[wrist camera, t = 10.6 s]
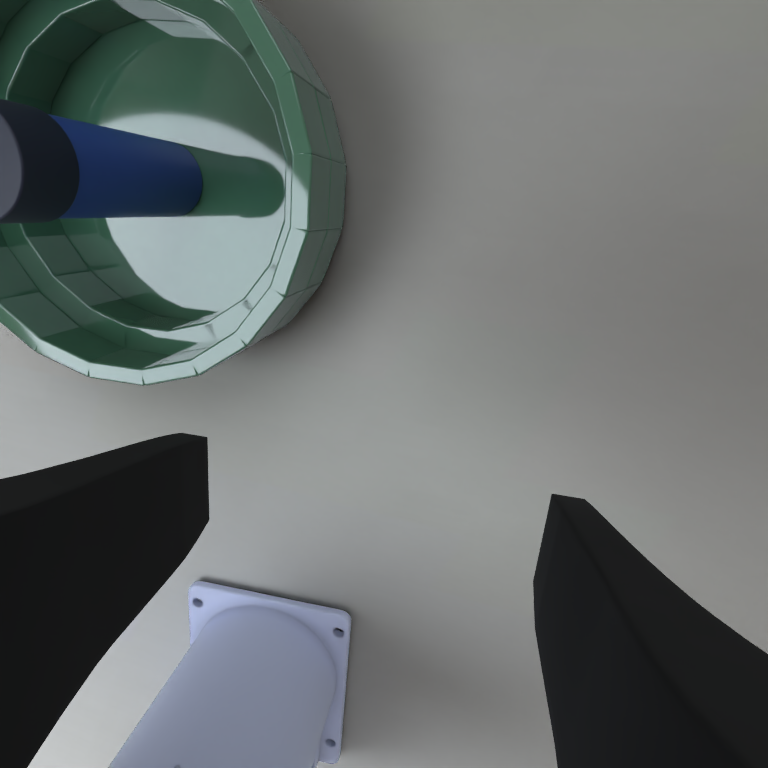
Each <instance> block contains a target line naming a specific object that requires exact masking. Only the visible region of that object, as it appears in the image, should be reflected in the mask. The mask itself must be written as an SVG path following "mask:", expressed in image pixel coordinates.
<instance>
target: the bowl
mask: <svg viewBox="0 0 768 768" xmlns="http://www.w3.org/2000/svg"><path fill="white" fill-rule="evenodd" d="M0 99H4V100H8V101H12V102H17V103H21V104H25V105H29V106H32V107H36V108H38V109H40V110H42V111H43V112H45V113H47V114H50V115H54V116H59V117H63V118H68V119H72V120H77V121H81V122H86V123H90V124H95V125H99V126H104V127H108V128H113V129H117V130H122V131H126V132H130V133H135V134H139V135H144V136H148V137H153V138H157V139H162V140H166V141H171V142H174V143H177V144H179V145H181V146H183V147H184V148H186V149H187V150H188V151H189V152H190V153H191V154H192V156H193V157H194V158H195V160H196V162H197V163H198V166H199V168H200V171H201V175H202V192H201V196H200V198H199V201H198V202H197V204H196V206H195V207H194V208H193V209H192V210H191V211H190V212H188V213H187V214H185V215H182V216H178V217H132V218H63V219H55V220H53V221H50V222H45V223H13V224H0V322H1V323H2V324H3V325H4V326H6V327H7V328H8V329H9V330H10V331H12V332H13V333H14V334H15V335H16V336H17V337H19V338H20V339H21V340H22V341H23V342H24V343H26V344H27V345H28V346H29V347H30V348H31V349H33V350H34V351H36V352H37V353H39V354H41V355H43V356H45V357H47V358H49V359H51V360H54V361H56V362H58V363H60V364H62V365H64V366H66V367H68V368H70V369H72V370H74V371H77V372H79V373H81V374H83V375H85V376H87V377H90V378H96V379H103V380H110V381H116V382H123V383H129V384H136V385H142V386H144V385H153V384H158V383H163V382H169V381H174V380H179V379H185V378H190V377H195V376H199V375H202V374H203V373H205V372H207V371H209V370H210V369H212V368H214V367H216V366H217V365H219V364H221V363H223V362H225V361H226V360H228V359H230V358H232V357H233V356H235V355H237V354H239V353H240V352H242V351H244V350H246V349H247V348H249V347H251V346H252V345H254V344H256V343H257V342H259V341H261V340H262V339H264V338H266V337H267V336H269V335H271V334H272V333H274V332H276V331H277V330H279V329H281V328H282V327H284V326H286V325H287V324H289V322H291V320H292V319H293V318H294V317H295V315H296V314H297V313H298V312H299V311H300V309H301V308H302V307H303V306H304V304H305V303H306V302H307V301H308V299H309V298H310V297H311V296H312V294H313V293H314V292H315V291H316V290H317V288H318V287H319V286H320V285H321V281H323V279H324V276H325V274H326V271H327V268H328V266H329V263H330V260H331V258H332V255H333V252H334V250H335V247H336V244H337V242H338V239H339V236H340V234H341V231H342V229H341V228H342V227H343V217H344V200H345V183H346V165H345V157H344V153H343V149H342V144H341V140H340V135H339V131H338V127H337V122H336V118H335V114H334V109H333V105H332V102H331V100H330V99H331V98H330V96H329V94H328V92H327V90H326V89H325V87H324V85H323V83H322V81H321V80H320V78H319V76H318V74H317V72H316V71H315V69H314V67H313V65H312V63H311V62H310V60H309V58H308V56H307V55H306V53H305V51H304V49H303V47H302V46H301V44H300V42H299V41H298V40H297V39H296V37H295V36H294V35H293V34H292V33H291V32H290V31H289V30H288V29H287V28H286V27H285V26H284V25H282V24H281V23H280V22H279V21H278V20H277V19H276V18H275V17H274V16H273V15H272V14H271V13H270V12H269V11H268V10H267V9H266V8H264V7H263V6H262V5H261V4H260V3H259V2H258V1H257V0H0Z"/></svg>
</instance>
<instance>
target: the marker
mask: <svg viewBox="0 0 768 768" xmlns="http://www.w3.org/2000/svg"><path fill="white" fill-rule="evenodd" d="M201 192H202V175H201V171H200V168H199V166H198V163H197V162H196V160H195V158H194V157H193V156H192V154H191V153H190V152H189V151H188V150H187V149H186V148H184V147H183V146H181V145H179V144H177V143H174V142H171V141H166V140H162V139H157V138H153V137H148V136H144V135H139V134H135V133H130V132H126V131H122V130H117V129H113V128H108V127H104V126H99V125H95V124H90V123H86V122H81V121H77V120H72V119H68V118H63V117H59V116H54V115H50V114H47V113H45V112H43V111H42V110H40V109H38V108H36V107H32V106H29V105H25V104H21V103H17V102H12V101H8V100H4V99H0V224H13V223H45V222H50V221H53V220H55V219H63V218H132V217H178V216H182V215H185V214H187V213H188V212H190V211H191V210H192V209H193V208H194V207H195V206H196V204H197V202H198V201H199V198H200V196H201Z"/></svg>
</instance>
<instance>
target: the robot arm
mask: <svg viewBox="0 0 768 768" xmlns="http://www.w3.org/2000/svg"><path fill="white" fill-rule="evenodd" d="M208 521H209V491H208V447H207V437H203V436H197V435H191V434H184V433H178V434H171V435H166V436H162V437H157V438H153V439H150V440H146V441H142V442H139V443H135V444H132V445H128V446H125V447H121V448H118V449H114V450H111V451H108V452H104V453H101V454H97V455H94V456H90V457H87V458H83V459H80V460H76V461H72V462H68V463H64V464H61V465H57V466H53V467H49V468H45V469H42V470H38V471H34V472H30V473H26V474H22V475H17V476H13V477H8V478H4V479H0V768H27V767H28V765H29V764H30V762H31V761H32V759H33V758H34V756H35V755H36V753H37V752H38V750H39V749H40V747H41V746H42V744H43V742H44V741H45V739H46V738H47V736H48V735H49V733H50V732H51V730H52V729H53V727H54V726H55V724H56V723H57V721H58V720H59V718H60V717H61V715H62V714H63V712H64V711H65V709H66V708H67V706H68V705H69V703H70V702H71V701H72V699H73V698H74V696H75V695H76V693H77V692H78V690H79V689H80V688H81V686H82V685H83V683H84V682H85V680H86V679H87V678H88V676H89V675H90V673H91V672H92V670H93V669H94V668H95V666H96V665H97V663H98V662H99V661H100V660H101V658H102V657H103V656H104V655H105V653H106V652H107V651H108V649H109V648H110V647H111V646H112V644H113V643H114V642H115V641H116V640H117V638H118V637H119V636H120V635H121V634H122V633H123V631H124V630H125V629H126V628H127V627H128V626H129V624H130V623H131V622H132V621H133V620H134V618H135V617H136V616H137V615H138V614H139V613H140V611H141V610H142V609H143V608H144V607H145V606H146V604H147V603H148V602H149V601H150V600H151V599H152V597H153V596H154V595H155V594H156V593H157V592H158V590H159V589H160V588H161V587H162V586H163V584H164V583H165V582H166V581H167V580H168V579H169V577H170V576H171V575H172V574H173V573H174V571H175V570H176V569H177V568H178V567H179V565H180V564H181V563H182V562H183V560H184V559H185V558H186V556H187V555H188V553H189V552H190V550H191V549H192V547H193V546H194V544H195V543H196V541H197V539H198V538H199V536H200V534H201V533H202V531H203V529H204V528H205V526H206V524H207V523H208ZM533 587H534V615H535V631H536V637H537V643H538V649H539V655H540V661H541V667H542V673H543V679H544V685H545V690H546V696H547V702H548V708H549V714H550V719H551V725H552V731H553V737H554V743H555V749H556V757H557V765H558V768H768V654H767V653H765V652H764V651H762V650H761V649H759V648H758V647H756V646H755V645H754V644H752V643H751V642H749V641H748V640H746V639H745V638H744V637H742V636H741V635H740V634H738V633H737V632H735V631H734V630H733V629H731V628H730V627H729V626H727V625H726V624H725V623H723V622H722V621H720V620H719V619H718V618H716V617H715V616H714V615H712V614H711V613H710V612H708V611H707V610H706V609H705V608H703V607H702V606H701V605H700V604H698V603H697V602H696V601H694V600H693V599H692V598H691V597H690V596H688V595H687V594H686V593H685V592H684V591H683V590H681V589H680V588H679V587H678V586H677V585H676V584H674V583H673V582H672V581H671V580H670V579H668V578H667V577H666V576H665V575H664V574H663V573H662V572H661V571H659V570H658V569H657V568H656V567H655V566H654V565H653V564H652V563H651V562H649V561H648V560H647V559H646V558H645V557H644V556H643V555H642V554H641V553H640V552H639V551H638V550H637V549H636V548H635V547H634V546H633V545H631V544H630V543H629V542H628V541H627V540H626V539H625V538H624V537H623V536H622V535H621V534H620V533H619V532H618V531H617V530H616V529H615V528H614V527H613V526H612V525H611V524H610V523H609V522H608V521H607V520H606V519H605V518H604V517H603V516H602V515H601V514H600V513H599V512H598V511H597V510H596V509H595V508H594V507H593V506H592V505H591V504H590V503H588V502H587V501H586V500H585V499H581V498H574V497H568V496H562V495H556V494H552V496H551V500H550V505H549V510H548V514H547V519H546V524H545V528H544V533H543V538H542V543H541V547H540V552H539V557H538V561H537V566H536V571H535V576H534V580H533ZM188 596H189V622H190V648H189V650H188V651H187V653H186V654H185V656H184V657H183V658H182V660H181V661H180V663H179V664H178V666H177V667H176V669H175V670H174V672H173V673H172V675H171V676H170V678H169V679H168V680H167V682H166V683H165V685H164V686H163V688H162V689H161V691H160V692H159V694H158V695H157V697H156V698H155V699H154V701H153V702H152V704H151V705H150V707H149V708H148V710H147V711H146V713H145V714H144V716H143V717H142V718H141V720H140V721H139V723H138V724H137V726H136V727H135V729H134V730H133V732H132V733H131V735H130V736H129V738H128V739H127V740H126V742H125V743H124V745H123V746H122V748H121V749H120V751H119V752H118V754H117V755H116V757H115V758H114V759H113V761H112V762H111V764H110V765H109V767H108V768H316V766H317V763H318V761H321V762H325V763H329V764H334V763H336V762H338V760H339V757H340V753H341V741H342V729H343V717H344V705H345V693H346V680H347V668H348V656H349V644H350V632H351V617H350V615H349V614H348V613H347V612H346V611H343V610H339V609H334V608H329V607H325V606H320V605H315V604H310V603H305V602H300V601H296V600H291V599H286V598H281V597H276V596H271V595H267V594H262V593H257V592H252V591H247V590H242V589H237V588H233V587H228V586H223V585H218V584H213V583H208V582H204V581H195V582H194V583H193V584H192V585H191V586H190V588H189V591H188ZM198 599H200V600H201V601H199V600H198ZM336 628H340V629H342V630H343V631H339V630H337V629H336Z"/></svg>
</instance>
